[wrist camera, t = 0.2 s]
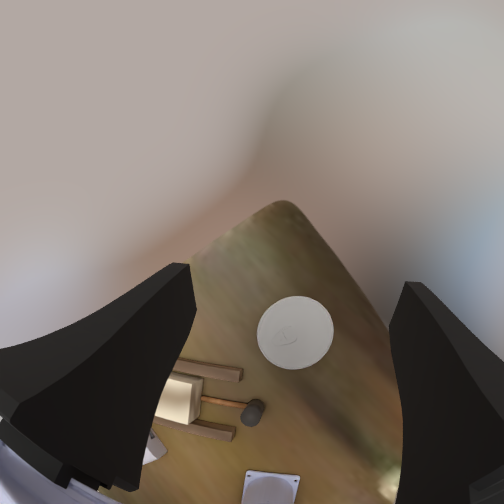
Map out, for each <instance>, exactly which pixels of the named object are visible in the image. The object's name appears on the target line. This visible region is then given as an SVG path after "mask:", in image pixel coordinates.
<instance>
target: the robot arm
mask: <svg viewBox="0 0 504 504" xmlns="http://www.w3.org/2000/svg"><path fill="white" fill-rule="evenodd" d="M196 311H197V308H196V302H195V296H194V291H193V285H192V278H191V272H190V266H189V264H183V263H171V264H169V265H168V266H166V267H164V268H163V269H162V270H160V271H158V272H157V273H155V274H154V275H152V276H151V277H149V278H148V279H146V280H145V281H144V282H142V283H141V284H139V285H137V286H136V287H134V288H133V289H131V290H130V291H128V292H127V293H125V294H124V295H122V296H120V297H119V298H117V299H116V300H114V301H112V302H111V303H109V304H108V305H106V306H105V307H103V308H101V309H100V310H98V311H96V312H94V313H92V314H91V315H89V316H87V317H85V318H83V319H81V320H79V321H77V322H75V323H73V324H71V325H69V326H67V327H64V328H62V329H60V330H57V331H55V332H53V333H50V334H48V335H45V336H43V337H40V338H37V339H35V340H32V341H28V342H25V343H22V344H19V345H15V346H11V347H7V348H3V349H0V416H1V417H2V418H3V419H2V420H1V422H0V504H122V503H120V502H117V501H115V500H113V499H111V498H109V497H107V496H105V495H103V494H101V493H99V492H97V490H98V488H99V486H102V487H104V488H106V489H108V490H110V489H111V487H112V485H114V486H117V487H119V488H121V489H123V490H126V491H128V492H132V491H135V490H137V489H139V483H140V476H141V470H142V465H143V459H144V455H145V450H146V446H147V441H148V437H149V434H150V430H151V426H152V423H153V419H154V416H155V413H156V410H157V406H158V403H159V400H160V397H161V394H162V392H163V389H164V387H165V384H166V382H167V380H168V378H169V376H170V374H171V372H172V370H173V368H174V365H175V363H176V361H177V359H178V357H179V355H180V353H181V351H182V349H183V346H184V344H185V342H186V340H187V338H188V336H189V333H190V330H191V327H192V324H193V321H194V318H195V314H196ZM389 334H390V345H391V353H392V358H393V363H394V368H395V373H396V378H397V383H398V389H399V394H400V400H401V406H402V416H403V452H402V466H401V474H400V482H399V488H398V493H397V498H396V503H395V504H504V362H503V361H502V360H501V359H500V358H499V357H498V356H497V355H495V354H494V353H493V352H492V351H491V350H490V349H488V348H487V347H486V346H485V345H484V344H483V343H482V342H481V341H480V340H479V339H478V338H477V337H476V336H475V335H474V334H473V333H472V332H471V331H470V330H469V329H468V328H467V327H466V326H465V325H464V324H463V323H462V322H461V321H460V320H459V319H458V318H457V317H456V316H455V315H454V314H453V313H452V312H451V311H450V310H449V309H448V308H447V307H446V305H444V303H443V302H442V301H440V299H439V298H438V297H437V296H436V295H434V293H432V292H431V291H430V290H429V289H428V288H427V287H426V286H425V285H424V284H422V283H421V282H407V281H406V282H405V284H404V287H403V290H402V293H401V296H400V299H399V301H398V304H397V307H396V309H395V312H394V314H393V317H392V319H391V322H390V324H389ZM248 475H251V476H248ZM294 480H297V481H294ZM299 480H300V476H298V475H288V474H277V473H268V472H260V471H253V470H248V471H247V472H246V477H245V483H244V490H243V496H242V502H241V504H294V500H295V496H296V492H297V488H298V484H299Z"/></svg>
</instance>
